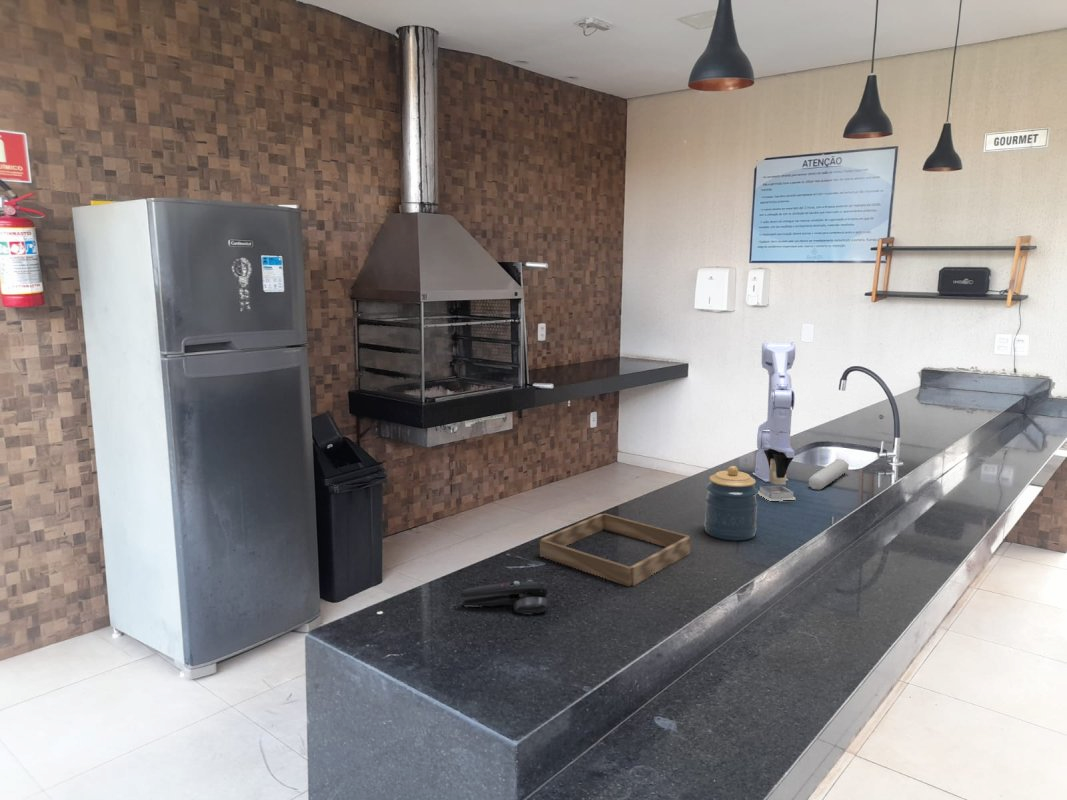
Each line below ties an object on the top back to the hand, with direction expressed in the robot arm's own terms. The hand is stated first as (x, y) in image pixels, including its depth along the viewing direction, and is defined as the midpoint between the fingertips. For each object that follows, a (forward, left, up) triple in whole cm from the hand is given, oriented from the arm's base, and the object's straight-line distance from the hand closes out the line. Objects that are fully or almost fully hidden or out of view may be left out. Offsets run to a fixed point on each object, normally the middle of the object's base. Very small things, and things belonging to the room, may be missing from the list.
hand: (777, 475), depth 217 cm
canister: (+26, -26, -7) cm, 37 cm away
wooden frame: (+36, -59, -7) cm, 69 cm away
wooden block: (0, 0, -2) cm, 2 cm away
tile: (0, 0, -7) cm, 7 cm away
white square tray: (0, 0, -7) cm, 7 cm away
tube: (-13, +24, -7) cm, 29 cm away
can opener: (+59, -88, -7) cm, 107 cm away
